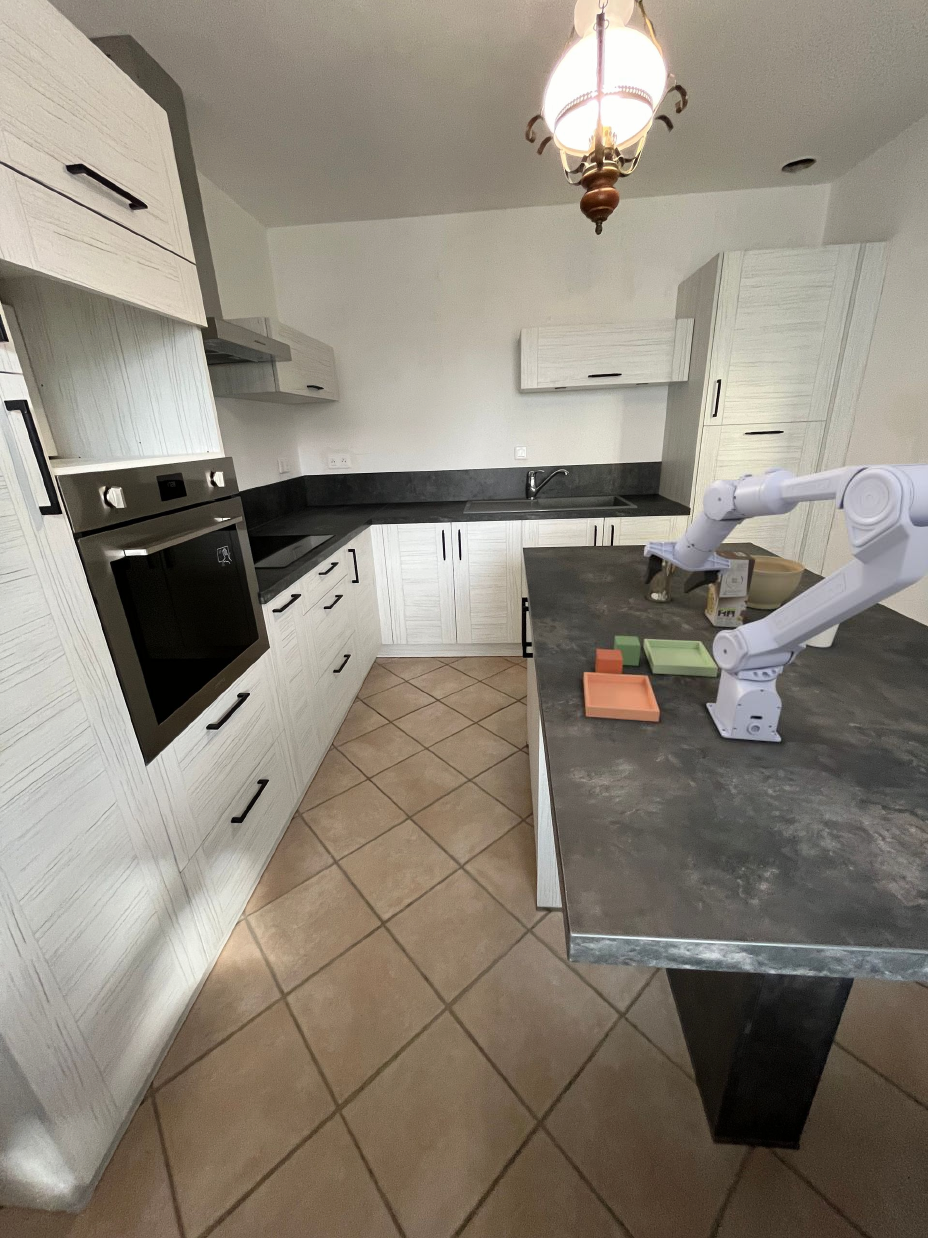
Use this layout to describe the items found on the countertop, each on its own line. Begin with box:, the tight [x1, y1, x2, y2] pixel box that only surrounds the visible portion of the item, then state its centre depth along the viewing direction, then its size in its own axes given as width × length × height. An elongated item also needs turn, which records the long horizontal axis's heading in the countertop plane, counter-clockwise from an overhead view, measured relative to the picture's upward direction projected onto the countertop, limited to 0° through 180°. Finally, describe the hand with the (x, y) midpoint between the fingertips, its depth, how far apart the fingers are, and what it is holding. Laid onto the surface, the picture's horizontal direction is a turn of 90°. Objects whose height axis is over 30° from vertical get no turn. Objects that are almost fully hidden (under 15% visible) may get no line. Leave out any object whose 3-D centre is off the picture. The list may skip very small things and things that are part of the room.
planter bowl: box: [746, 555, 806, 610], centre depth 123 cm, size 16×16×11 cm
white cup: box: [805, 623, 840, 648], centre depth 102 cm, size 7×7×7 cm
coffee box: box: [704, 549, 756, 628], centre depth 113 cm, size 9×6×16 cm
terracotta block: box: [594, 648, 624, 674], centre depth 91 cm, size 4×4×4 cm
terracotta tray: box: [583, 671, 660, 723], centre depth 83 cm, size 12×11×2 cm
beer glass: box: [646, 559, 678, 603], centre depth 129 cm, size 7×7×15 cm
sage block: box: [613, 635, 641, 667], centre depth 97 cm, size 4×4×4 cm
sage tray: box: [643, 638, 719, 678], centre depth 96 cm, size 12×11×2 cm
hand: (665, 584), depth 93 cm, fingers open, 7 cm apart
